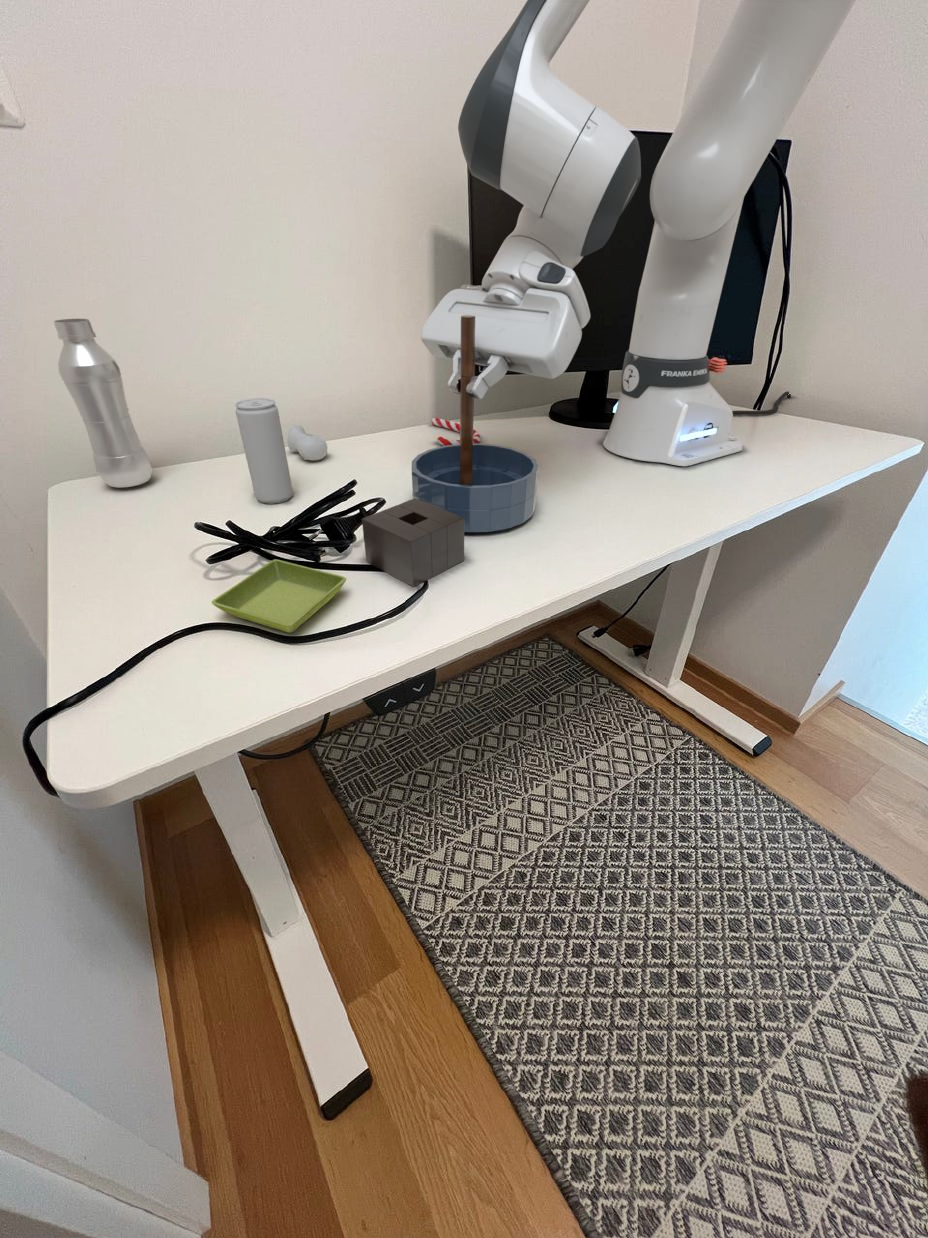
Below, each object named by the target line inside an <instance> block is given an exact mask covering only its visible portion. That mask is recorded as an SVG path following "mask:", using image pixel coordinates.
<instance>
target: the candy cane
mask: <svg viewBox="0 0 928 1238" xmlns="http://www.w3.org/2000/svg"><path fill="white" fill-rule="evenodd" d="M431 424H432V425H433V426H435V427H440V428H444V429H447V430H452V431H454V432H458V433H460V423H457V422H455V421H450V420H446V419H442V418H438V417H433V418H431ZM436 441H437V443H438V444H439V445H440V446H441V447H442V446H447V445H456V444H460V439H448V438H445V437H443V436H438V437H437V439H436ZM480 441H481V434H480V433H479V432H478V431H477V430H475V429H474V428H473V444H480Z"/></svg>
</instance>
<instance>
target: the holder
mask: <svg viewBox="0 0 928 1238" xmlns="http://www.w3.org/2000/svg"><path fill="white" fill-rule="evenodd" d="M361 526H362V534H363V543H364V552H365V561H366V563H368V564H369V565H372V566H374V567H375V568H377V569H378V570H380V571H382V572H385V573H387V574H388V575H390V576H392V577H394V578H396V579H398V580H399V581H401V582H403V583H405V584H407V585H409V586H411V587H413V588H414V587H417V586H419V585H420V584H422V583H424V582H426V581H428V580H430V579H432V578H434V577H436V576H438V575H440V574H441V573H443V572H445V571H447V570H449V569H451V568H453V567H454V566H457V565H458V564H460V563H462V562H464V561H465V532H464V518H463V517H461V516H458V515H456V514H453V513H451V512H448V511H446V510H444V509H441V508H439V507H436V506H434V505H431V504H429V503H426V502H424V501H421V500H419V499H416V498H414V499H413V498H412V499H409V500H407V501H405V502H402V503H399V504H396V505H394V506H391V507H388V508H386V509H384V510H381V511H377V512H376V513H373V514H371V515H368V516H365V517H363V518H361Z"/></svg>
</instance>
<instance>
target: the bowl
mask: <svg viewBox="0 0 928 1238" xmlns="http://www.w3.org/2000/svg"><path fill="white" fill-rule="evenodd" d="M539 468H540V466H539V463H538V462H537V460H536V459H535V457H533V456H531V455H530V454H529V453H527V452H524V451H521V450H519V449H516V448H513V447H508V446H504V445H499V444H487V443H477V444H473V467H472V486H468V485H460V444H456V445H447V446H442V445H441V446H437V447H434V448H430V449H427V450H425V451H423V452H421V453H419V454H417V455H416V456H415V457H414V458H413V459H412V460H411V485H412V487H411V488H412V499H414V498H416V499H419V500H421V501H424V502H426V503H429V504H431V505H434V506H436V507H439V508H441V509H444V510H446V511H448V512H451V513H453V514H456V515H458V516H461V517H463V518H464V533H489V532H496V531H503V530H508V529H511V528H514V527H516V526H519V525H522V524H523V523H525V522H526V521H528V520H529V519H530V518H532V516H533V515H534V512H535V509H536V503H537V491H538V479H539Z"/></svg>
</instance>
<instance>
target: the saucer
mask: <svg viewBox="0 0 928 1238" xmlns="http://www.w3.org/2000/svg"><path fill="white" fill-rule="evenodd" d="M346 581H347V578H346V577H345V576H343V575H340V574H336V573H332V572H327V571H324V570H320V569H316V568H312V567H308V566H304V565H300V564H297V563H293V562H289V561H285V560H280V559H275V558H274V559H272V560H270V561H269V562H267V563H266V564H264V565H263V566H262V567H260V568H259V569H257V570H256V571H254V572H252V573H251V574H250V575H249V576H247V577H245V578H244V579H242V580H241V581H240V582H238V583H237V584H235V585H234V586H232V587H231V588H229V589H228V590H226V591H225V592H223V593H221V594H220V595H218V596H217V597H216V598H214V599H213V600H212V601H211V604H212V605H213V606H214V607H216V608H217V609H219V610H220V611H222V612H224V613H226V614H228V615H230V616H234V617H236V618H238V619H241V620H242V619H243V620H245V621H249V622H252V623H256V624H259V625H261V626H264V627H265V626H266V627H268V628H271V629H275V630H277V631H282V632H284V633H288V634H290V633H294V632H295V631H296V630H297V629H298V628H299V627H300V626H301V625H303V624H304V623H305V622H307V620H308V619H309V618H311V617H312V616H313V615H314V614H316V613H317V612H318V611H319V610H320V609H321V608H323V606H325V605H326V604H327V603H328V602H330V601H331V600H332V599H333V598H334V597H336V595H337V594H338V593H339V591H340V590H341V589H342V587H343V586H344V585H345V583H346Z"/></svg>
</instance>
